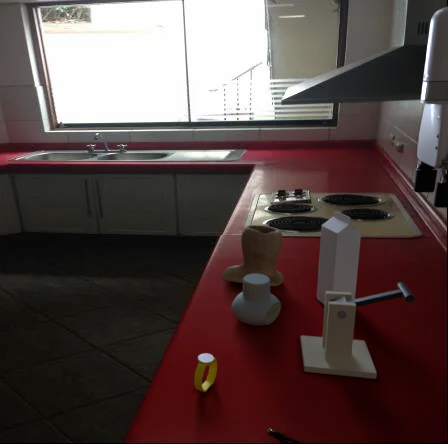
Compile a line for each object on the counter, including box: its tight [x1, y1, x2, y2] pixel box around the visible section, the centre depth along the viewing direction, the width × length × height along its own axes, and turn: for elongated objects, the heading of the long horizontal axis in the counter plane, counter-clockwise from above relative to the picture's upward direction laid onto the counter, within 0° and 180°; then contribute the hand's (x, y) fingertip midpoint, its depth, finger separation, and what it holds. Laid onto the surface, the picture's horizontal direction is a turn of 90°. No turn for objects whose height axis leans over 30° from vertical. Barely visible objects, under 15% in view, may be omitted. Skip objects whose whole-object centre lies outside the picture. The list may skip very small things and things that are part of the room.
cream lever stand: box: [299, 291, 378, 380], centre depth 77 cm, size 12×10×13 cm
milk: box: [316, 210, 362, 306], centre depth 95 cm, size 6×6×22 cm
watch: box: [193, 352, 218, 393], centre depth 73 cm, size 6×3×6 cm, turn 146°
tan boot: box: [221, 224, 284, 287], centre depth 110 cm, size 15×12×15 cm
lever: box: [329, 281, 416, 308], centre depth 74 cm, size 13×5×2 cm, turn 78°
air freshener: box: [231, 274, 282, 327], centre depth 92 cm, size 11×8×10 cm
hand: (433, 199), depth 70 cm, fingers open, 9 cm apart
